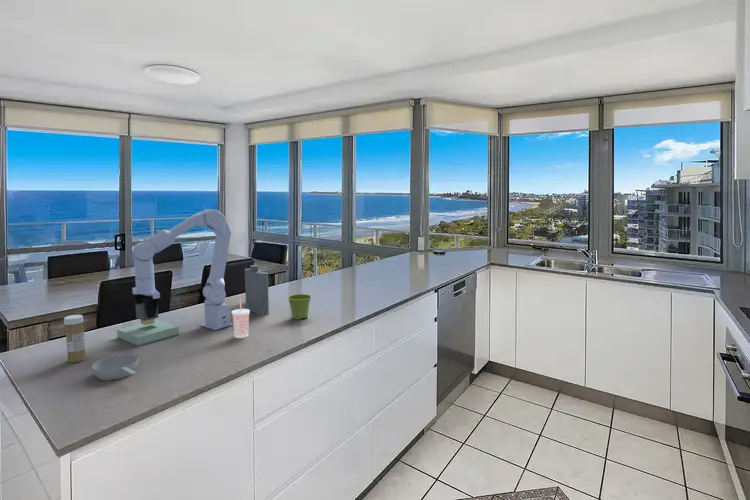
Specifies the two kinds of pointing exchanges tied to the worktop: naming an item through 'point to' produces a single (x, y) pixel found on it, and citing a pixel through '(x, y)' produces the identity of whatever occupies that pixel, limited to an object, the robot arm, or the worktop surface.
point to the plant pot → (299, 305)
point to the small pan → (115, 367)
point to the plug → (144, 314)
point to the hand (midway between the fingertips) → (147, 315)
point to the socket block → (147, 332)
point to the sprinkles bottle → (75, 338)
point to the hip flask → (256, 290)
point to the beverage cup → (241, 322)
